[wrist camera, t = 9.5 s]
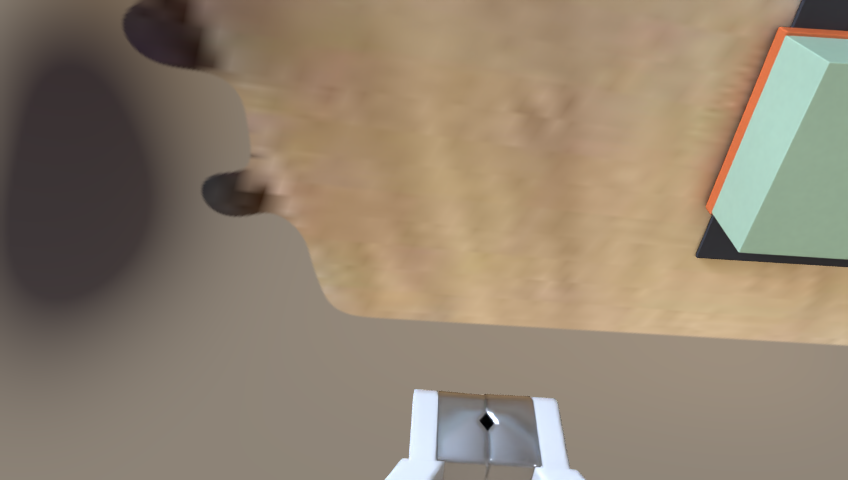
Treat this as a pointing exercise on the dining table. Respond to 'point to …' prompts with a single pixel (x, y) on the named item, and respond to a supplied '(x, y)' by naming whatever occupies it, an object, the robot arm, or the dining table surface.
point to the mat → (820, 9)
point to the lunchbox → (791, 152)
